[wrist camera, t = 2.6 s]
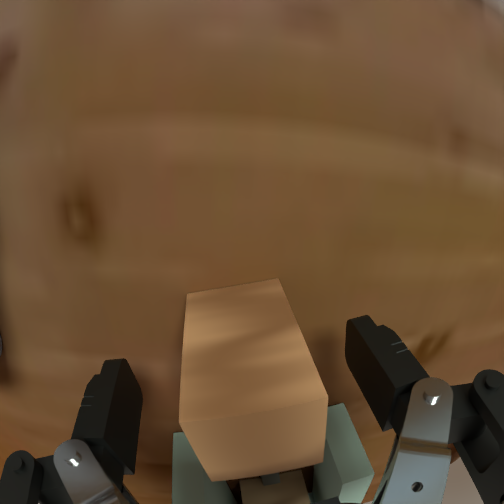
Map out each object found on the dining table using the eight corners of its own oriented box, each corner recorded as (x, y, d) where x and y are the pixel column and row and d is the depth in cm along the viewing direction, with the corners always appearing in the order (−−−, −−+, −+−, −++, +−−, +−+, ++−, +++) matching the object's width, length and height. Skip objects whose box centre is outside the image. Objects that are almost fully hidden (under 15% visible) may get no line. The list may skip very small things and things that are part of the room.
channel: (343, 402, 16) (374, 473, 11) (328, 493, 22) (342, 536, 17) (173, 432, 15) (172, 510, 11) (224, 512, 21) (229, 557, 17)
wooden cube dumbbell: (290, 275, 12) (348, 391, 7) (301, 492, 21) (317, 549, 15) (174, 295, 12) (158, 423, 6) (248, 501, 21) (258, 560, 15)
